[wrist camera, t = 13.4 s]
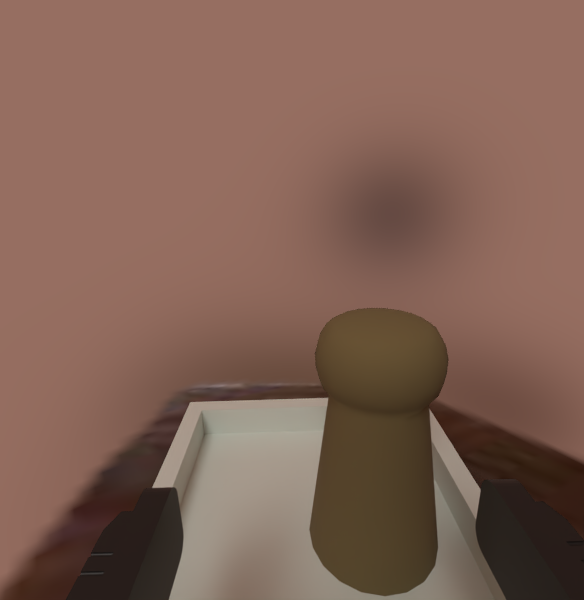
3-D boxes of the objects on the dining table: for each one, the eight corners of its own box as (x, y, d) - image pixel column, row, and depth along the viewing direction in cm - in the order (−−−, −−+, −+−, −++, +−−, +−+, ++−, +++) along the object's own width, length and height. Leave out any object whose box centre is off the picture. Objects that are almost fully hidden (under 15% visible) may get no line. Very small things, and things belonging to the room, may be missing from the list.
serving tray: (417, 425, 26) (420, 395, 25) (599, 762, 11) (620, 711, 10) (194, 432, 26) (190, 402, 25) (63, 780, 11) (44, 730, 10)
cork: (369, 465, 22) (376, 287, 18) (465, 542, 17) (498, 321, 14) (285, 517, 19) (275, 313, 15) (374, 630, 14) (387, 370, 10)
